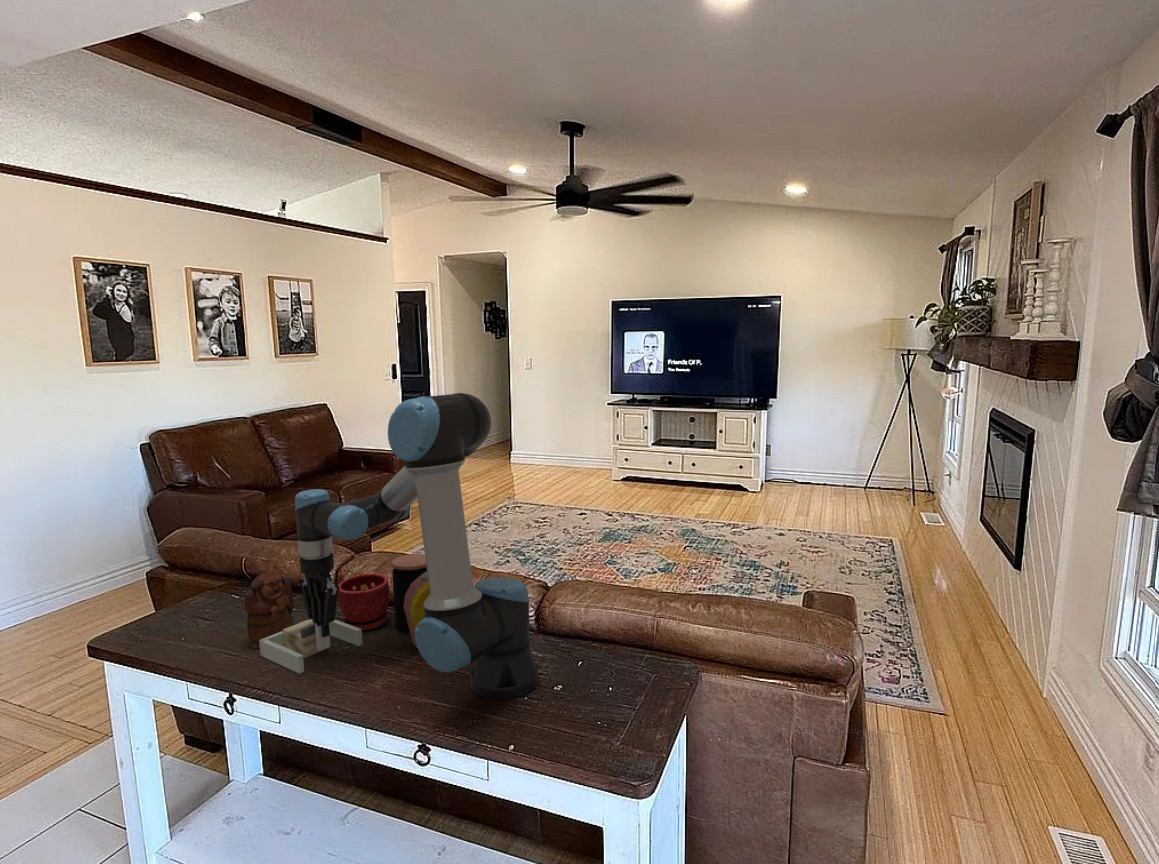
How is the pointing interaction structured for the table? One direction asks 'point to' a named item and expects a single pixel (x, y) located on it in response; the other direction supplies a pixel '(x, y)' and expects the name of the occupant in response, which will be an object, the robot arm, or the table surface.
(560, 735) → the table surface
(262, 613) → the wooden figurine
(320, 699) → the table surface
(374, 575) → the plant pot
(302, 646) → the beige block
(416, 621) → the alarm clock
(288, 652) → the dock
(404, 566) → the coffee jar
